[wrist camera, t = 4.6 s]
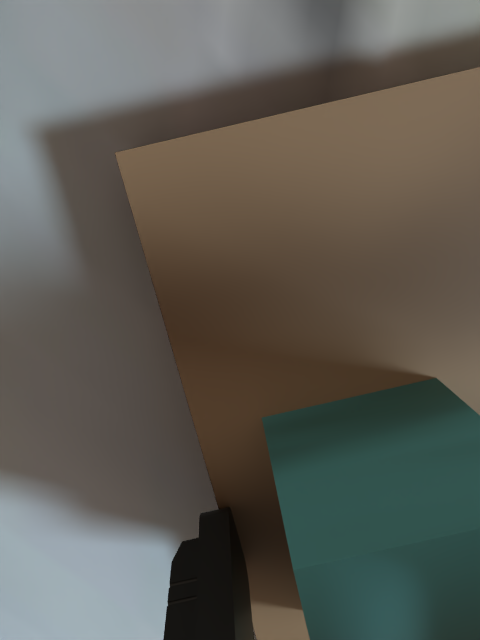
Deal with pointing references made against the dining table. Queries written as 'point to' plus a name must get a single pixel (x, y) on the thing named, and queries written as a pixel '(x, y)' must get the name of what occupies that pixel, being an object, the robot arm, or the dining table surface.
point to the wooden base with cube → (333, 350)
